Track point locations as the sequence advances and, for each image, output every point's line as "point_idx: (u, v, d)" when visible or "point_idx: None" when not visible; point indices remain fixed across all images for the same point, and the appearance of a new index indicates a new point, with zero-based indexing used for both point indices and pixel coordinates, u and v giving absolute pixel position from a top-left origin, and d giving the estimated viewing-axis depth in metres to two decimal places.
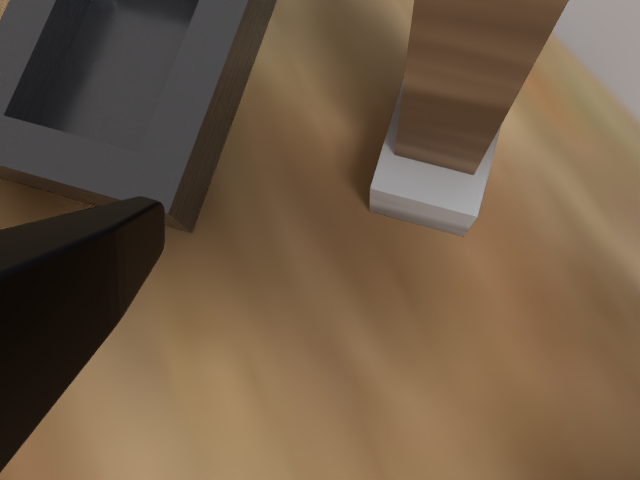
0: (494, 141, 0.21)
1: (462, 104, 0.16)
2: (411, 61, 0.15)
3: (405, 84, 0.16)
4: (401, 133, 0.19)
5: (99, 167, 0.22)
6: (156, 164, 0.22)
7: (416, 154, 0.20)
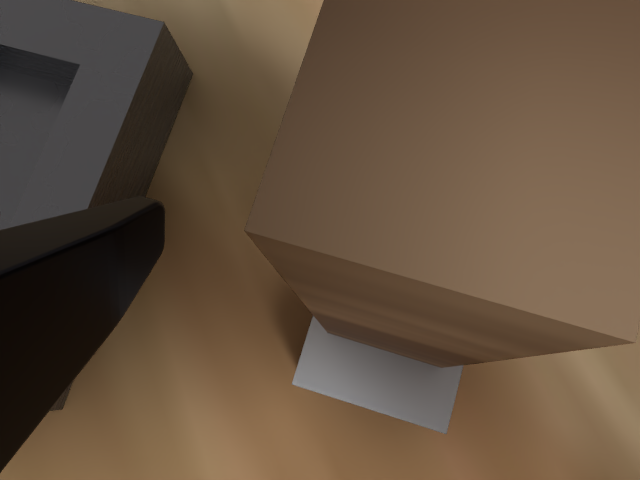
0: None
1: (407, 340, 0.10)
2: (308, 301, 0.08)
3: (311, 309, 0.09)
4: (328, 328, 0.13)
5: None
6: None
7: (357, 340, 0.14)
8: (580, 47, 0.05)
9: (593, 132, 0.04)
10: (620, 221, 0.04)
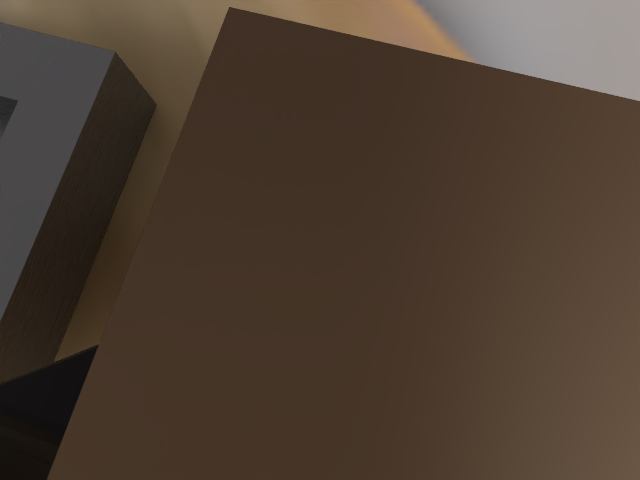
0: None
1: None
2: None
3: None
4: None
5: None
6: None
7: None
8: None
9: None
10: None
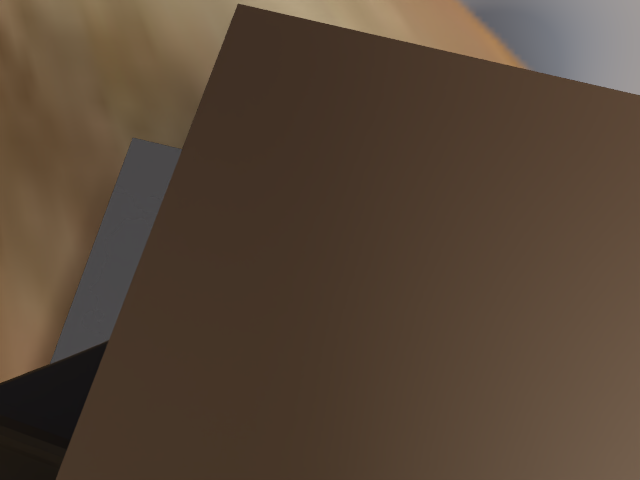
0: None
1: None
2: None
3: None
4: None
5: None
6: None
7: None
8: None
9: None
10: None
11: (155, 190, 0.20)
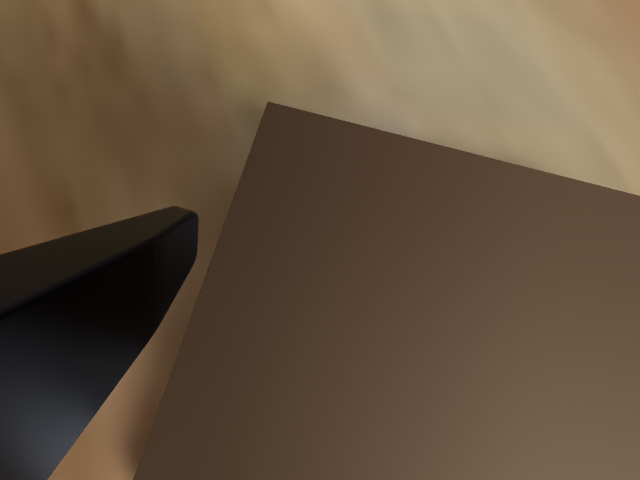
0: None
1: None
2: None
3: None
4: None
5: None
6: None
7: None
8: (583, 312, 0.03)
9: (602, 453, 0.03)
10: None
11: None
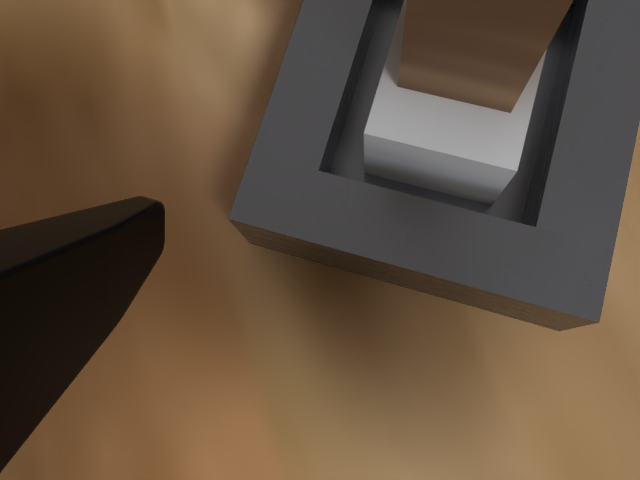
0: (539, 65, 0.15)
1: None
2: None
3: None
4: (408, 45, 0.13)
5: (478, 250, 0.15)
6: (567, 246, 0.15)
7: (429, 83, 0.14)
8: None
9: None
10: None
11: None
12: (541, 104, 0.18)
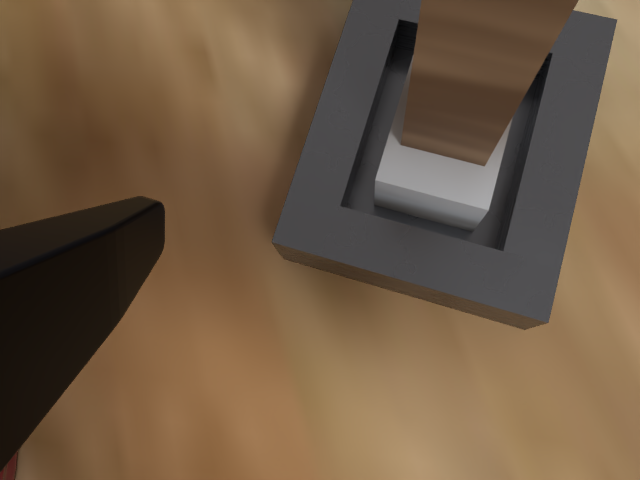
0: (506, 130, 0.20)
1: (474, 87, 0.15)
2: (421, 39, 0.14)
3: (414, 66, 0.15)
4: (409, 121, 0.18)
5: (459, 268, 0.20)
6: (526, 265, 0.20)
7: (424, 144, 0.19)
8: None
9: None
10: None
11: (388, 10, 0.22)
12: (512, 152, 0.23)
